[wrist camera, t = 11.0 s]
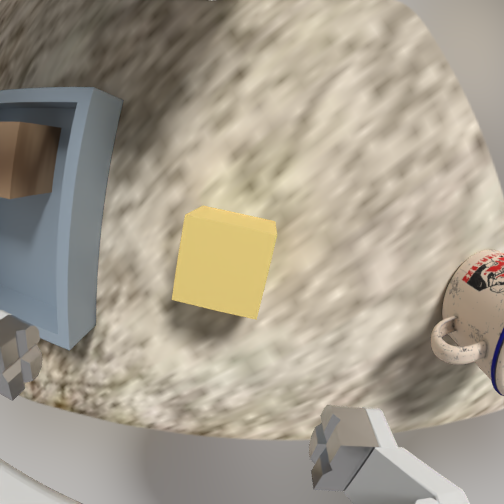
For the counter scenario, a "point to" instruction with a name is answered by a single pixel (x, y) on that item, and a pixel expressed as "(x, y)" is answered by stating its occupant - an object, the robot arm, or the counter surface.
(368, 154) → the counter surface
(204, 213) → the mustard block
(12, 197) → the walnut block
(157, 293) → the counter surface
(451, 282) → the teacup with lid
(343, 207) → the counter surface
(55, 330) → the tray
